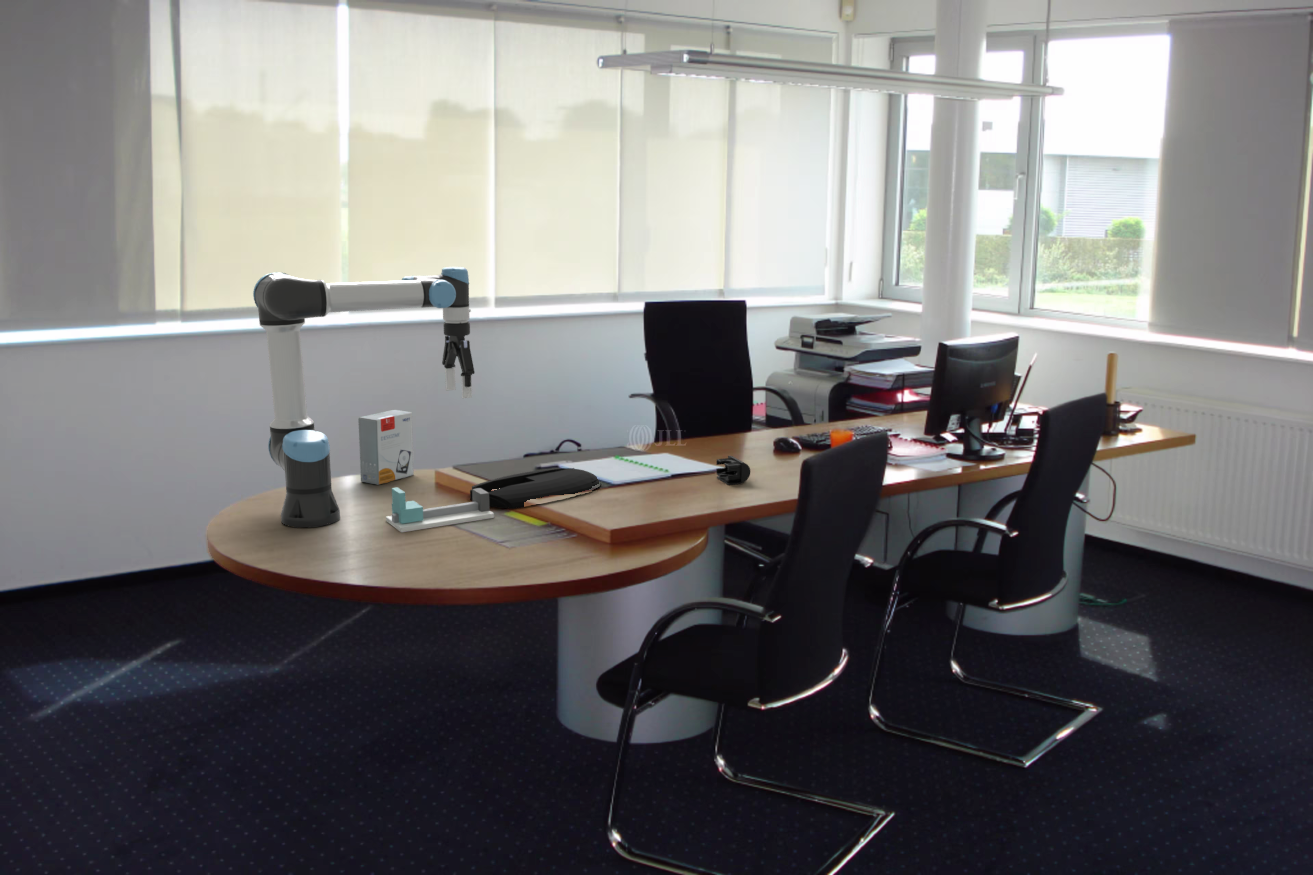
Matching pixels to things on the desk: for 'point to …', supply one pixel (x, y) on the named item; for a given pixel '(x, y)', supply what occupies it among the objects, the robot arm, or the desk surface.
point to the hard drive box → (386, 446)
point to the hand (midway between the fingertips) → (458, 394)
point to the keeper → (405, 507)
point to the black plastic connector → (732, 471)
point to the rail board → (449, 514)
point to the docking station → (535, 486)
